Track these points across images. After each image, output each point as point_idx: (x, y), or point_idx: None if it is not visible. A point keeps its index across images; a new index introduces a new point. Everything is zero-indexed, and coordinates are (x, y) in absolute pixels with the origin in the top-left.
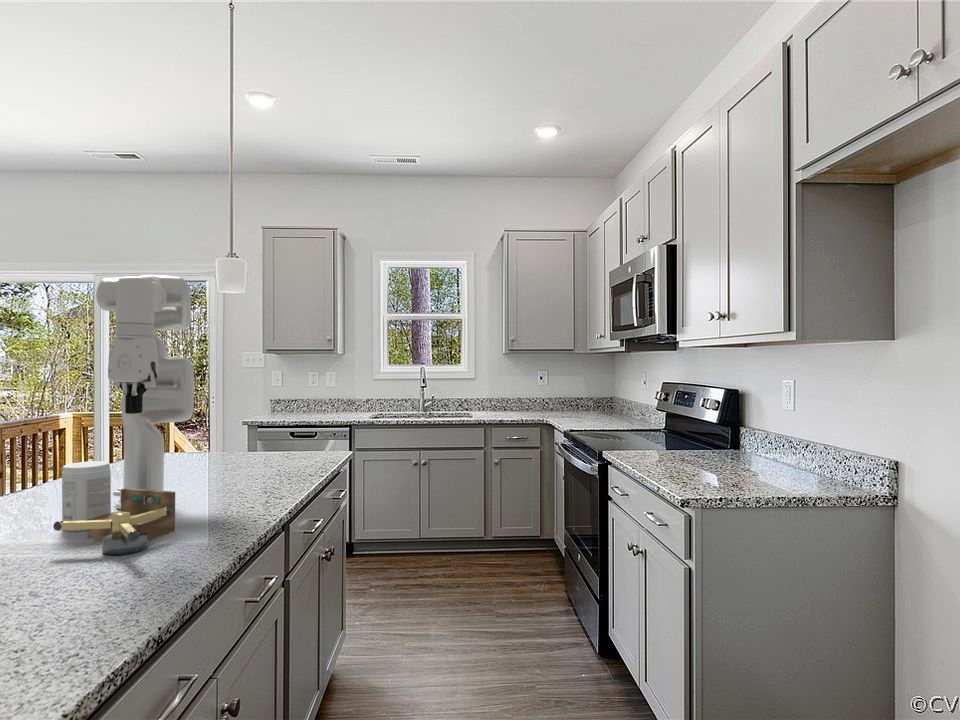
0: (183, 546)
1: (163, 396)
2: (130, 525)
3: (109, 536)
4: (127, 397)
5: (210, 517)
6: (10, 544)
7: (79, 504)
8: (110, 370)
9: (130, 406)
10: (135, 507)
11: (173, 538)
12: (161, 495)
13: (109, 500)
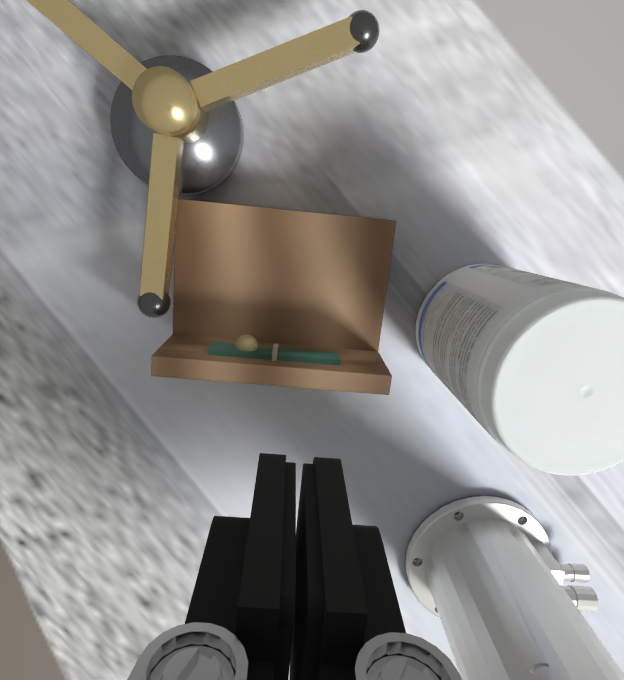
0: (43, 200)
1: None
2: (74, 39)
3: (225, 116)
4: (326, 594)
5: (189, 484)
6: (559, 112)
7: (484, 278)
8: None
9: (264, 495)
10: (318, 350)
11: (133, 268)
12: (201, 355)
13: (438, 371)
